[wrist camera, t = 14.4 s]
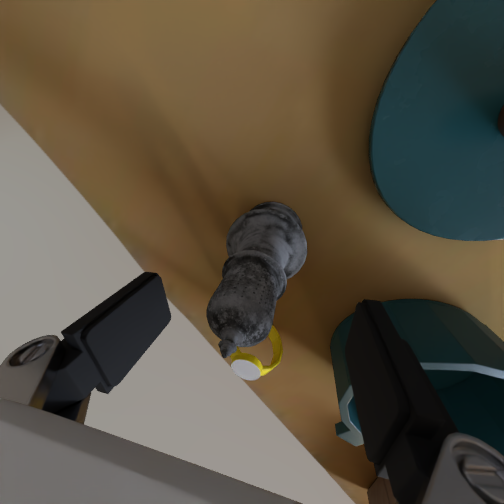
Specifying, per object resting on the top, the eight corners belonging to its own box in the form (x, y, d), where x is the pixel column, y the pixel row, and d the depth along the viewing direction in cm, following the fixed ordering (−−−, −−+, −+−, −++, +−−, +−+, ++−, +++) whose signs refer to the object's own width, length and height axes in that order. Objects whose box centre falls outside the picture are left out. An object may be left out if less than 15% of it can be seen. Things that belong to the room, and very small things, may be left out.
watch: (288, 327, 22) (284, 382, 16) (275, 339, 23) (267, 394, 18) (243, 300, 21) (224, 346, 16) (232, 314, 23) (212, 361, 17)
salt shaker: (260, 183, 15) (172, 248, 5) (321, 223, 16) (360, 362, 5) (229, 239, 18) (132, 353, 8) (280, 271, 19) (254, 423, 8)
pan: (292, 360, 24) (289, 417, 19) (434, 248, 15) (508, 300, 9) (381, 412, 24) (403, 482, 19) (572, 336, 15) (715, 432, 10)
